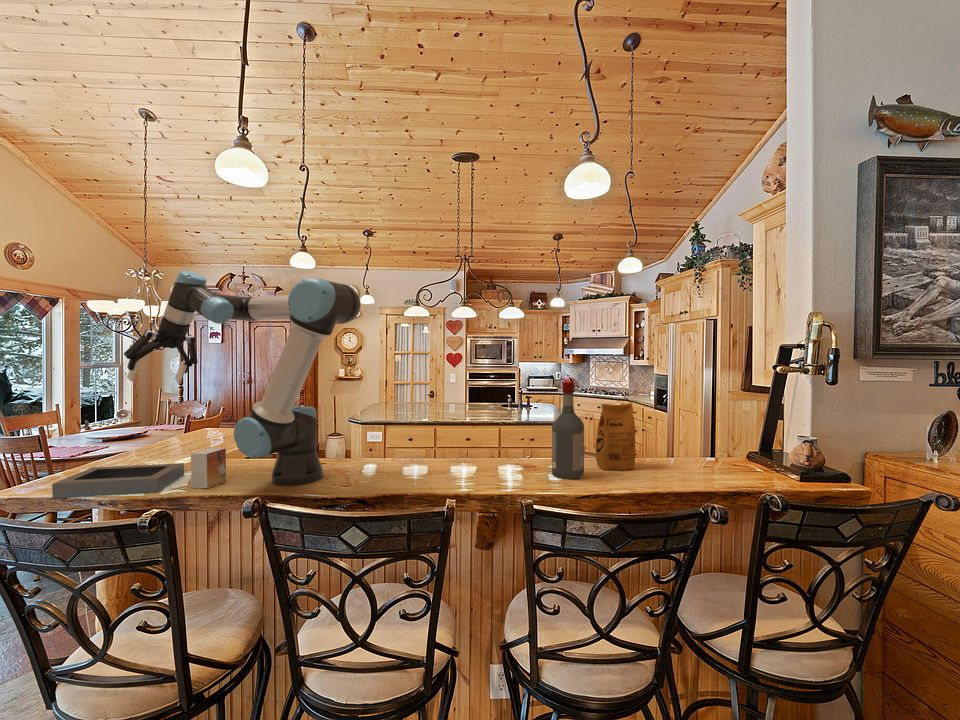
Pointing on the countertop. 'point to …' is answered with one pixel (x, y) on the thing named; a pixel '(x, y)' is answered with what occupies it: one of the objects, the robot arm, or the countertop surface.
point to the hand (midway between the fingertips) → (154, 380)
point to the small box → (208, 467)
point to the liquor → (568, 440)
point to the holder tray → (118, 480)
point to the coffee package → (616, 438)
